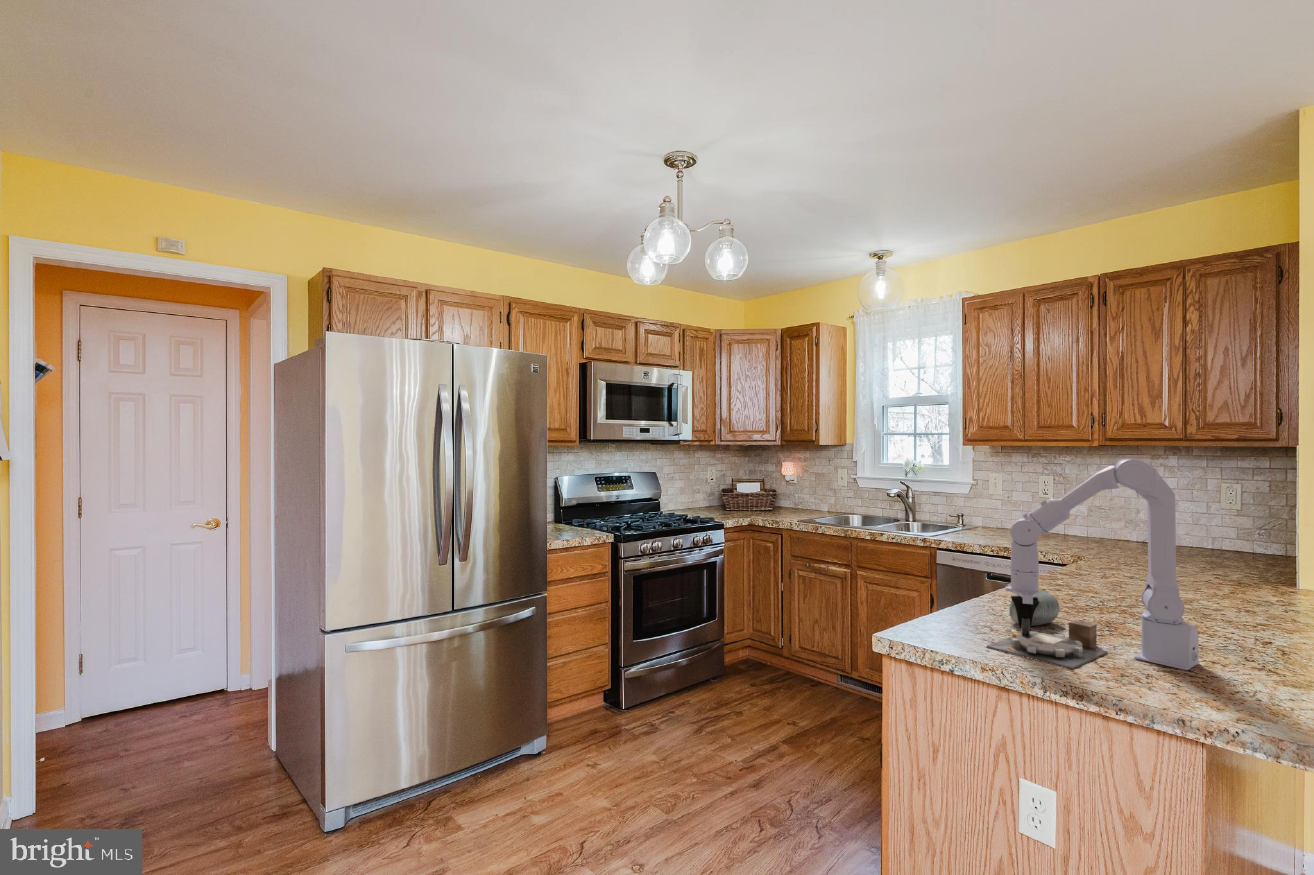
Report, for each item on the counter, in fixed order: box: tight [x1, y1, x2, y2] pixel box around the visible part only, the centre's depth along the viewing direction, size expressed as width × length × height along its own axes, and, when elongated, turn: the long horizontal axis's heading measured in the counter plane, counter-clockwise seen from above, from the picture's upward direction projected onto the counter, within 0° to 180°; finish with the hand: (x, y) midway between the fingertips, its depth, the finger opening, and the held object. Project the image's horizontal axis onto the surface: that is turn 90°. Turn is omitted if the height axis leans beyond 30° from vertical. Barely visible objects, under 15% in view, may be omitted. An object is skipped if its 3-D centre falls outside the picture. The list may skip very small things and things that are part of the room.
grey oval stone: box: [1009, 590, 1060, 627], centre depth 172 cm, size 14×10×10 cm
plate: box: [986, 636, 1109, 670], centre depth 150 cm, size 18×18×1 cm
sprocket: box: [1011, 617, 1083, 657], centre depth 150 cm, size 14×14×6 cm
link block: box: [1068, 619, 1098, 648], centre depth 154 cm, size 4×4×5 cm
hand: (1024, 628), depth 156 cm, fingers closed
